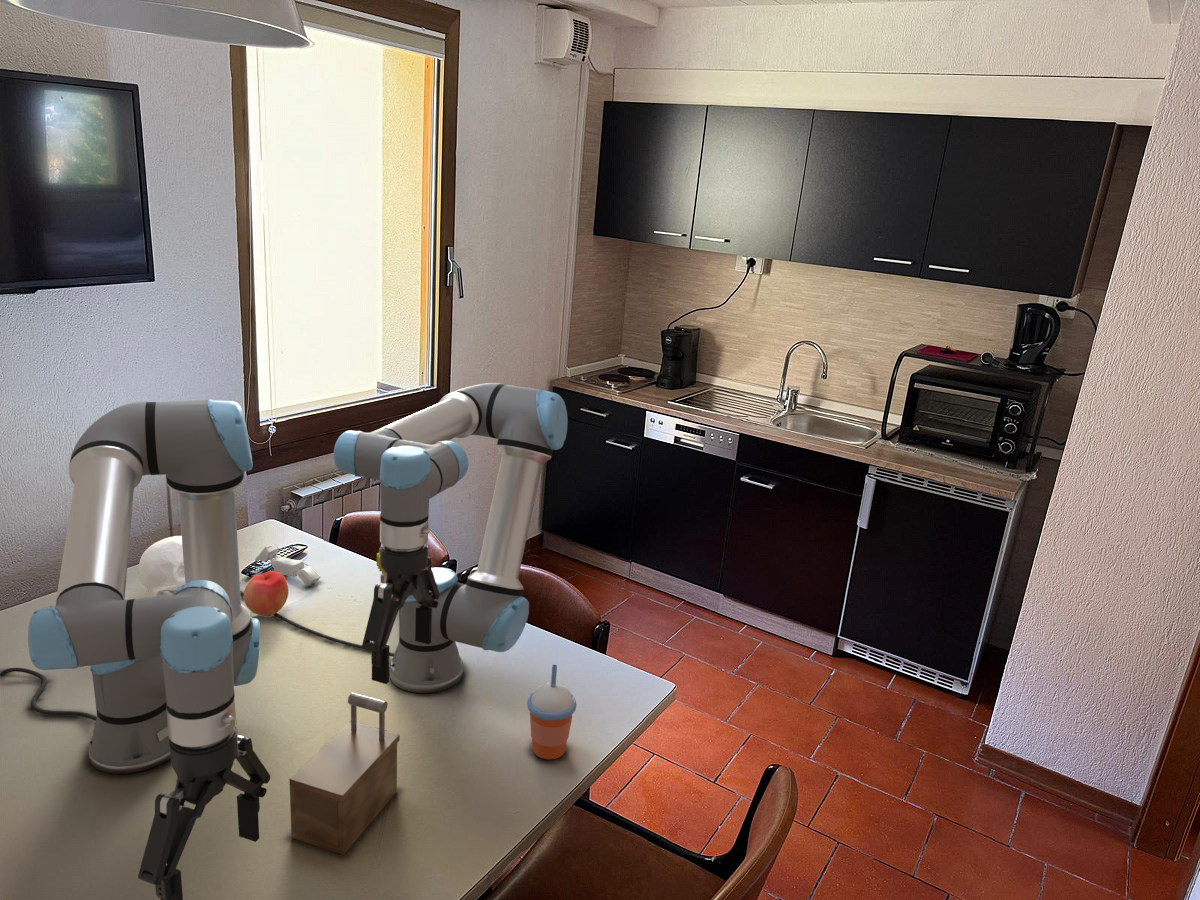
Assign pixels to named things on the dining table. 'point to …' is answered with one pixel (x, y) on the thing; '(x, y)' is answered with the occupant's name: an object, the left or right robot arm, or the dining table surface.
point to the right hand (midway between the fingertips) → (402, 660)
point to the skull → (163, 567)
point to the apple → (266, 593)
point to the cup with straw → (550, 717)
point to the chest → (343, 809)
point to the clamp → (288, 565)
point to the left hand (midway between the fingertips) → (213, 873)
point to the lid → (347, 754)
